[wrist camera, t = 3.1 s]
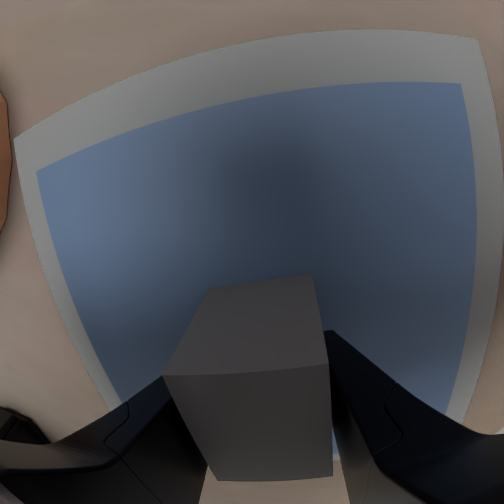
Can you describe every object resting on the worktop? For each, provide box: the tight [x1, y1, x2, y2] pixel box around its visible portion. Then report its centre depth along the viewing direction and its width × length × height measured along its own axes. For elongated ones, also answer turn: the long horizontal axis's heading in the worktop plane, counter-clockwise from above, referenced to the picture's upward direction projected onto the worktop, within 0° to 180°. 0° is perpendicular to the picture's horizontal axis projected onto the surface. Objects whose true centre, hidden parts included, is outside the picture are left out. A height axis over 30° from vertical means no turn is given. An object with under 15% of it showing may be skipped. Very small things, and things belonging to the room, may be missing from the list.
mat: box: [14, 29, 504, 461], centre depth 10 cm, size 18×18×1 cm
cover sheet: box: [36, 82, 477, 481], centre depth 8 cm, size 14×14×5 cm
